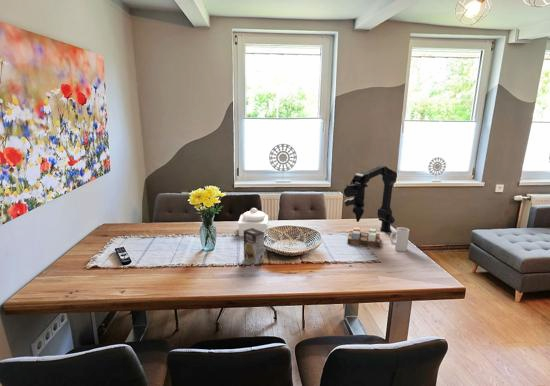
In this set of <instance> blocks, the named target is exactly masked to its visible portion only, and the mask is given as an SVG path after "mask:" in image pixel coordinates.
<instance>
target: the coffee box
mask: <svg viewBox="0 0 550 386" xmlns="http://www.w3.org/2000/svg"><path fill="white" fill-rule="evenodd" d="M264 249H265V237H264V232H262V231H259V230H256V229H254V228H251V229H247V230H244V237H243V259H244V260H245V261H248V262H249V263H252V264H254V265H257V264H259V263H262V262H264V261H265V250H264Z"/></svg>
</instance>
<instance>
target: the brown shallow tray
mask: <svg viewBox="0 0 550 386" xmlns="http://www.w3.org/2000/svg"><path fill="white" fill-rule="evenodd" d="M352 234H353V230H349V232H348V235H347V242H346V243H347V245H354V246H360V245H361V247H363V246H364V247H372V248H380V244H381V239H380V238H381V235H380V233H376V239H375V242H374V241H368V234H369V232H364V231H363V232H362V231H360V238H359V240H356V239H352Z"/></svg>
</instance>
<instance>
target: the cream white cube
mask: <svg viewBox="0 0 550 386" xmlns="http://www.w3.org/2000/svg"><path fill="white" fill-rule="evenodd" d="M368 233H369V232H368ZM376 234H377V232H376V233H369V235H368V241H374V242H375V239H376Z"/></svg>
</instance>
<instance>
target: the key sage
mask: <svg viewBox="0 0 550 386" xmlns="http://www.w3.org/2000/svg"><path fill="white" fill-rule="evenodd" d="M376 231H377V229H376V228H368V233H376V234H377V232H376ZM368 235H369V234H368Z"/></svg>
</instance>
